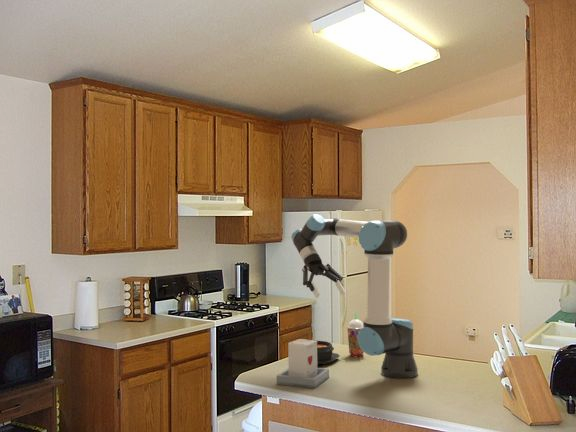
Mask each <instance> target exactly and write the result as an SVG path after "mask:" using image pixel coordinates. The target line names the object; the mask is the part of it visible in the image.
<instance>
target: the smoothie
mask: <svg viewBox="0 0 576 432" xmlns="http://www.w3.org/2000/svg"><path fill="white" fill-rule="evenodd" d="M354 317H355V318H354V319H352V320H351V321H349V323H348V325H347V327H346V328H347V339H348V341H347V342H348V352H349V353H348V354H349V355H350V357H353V358H354V357H355V358H359V357H362V356H364V353H365V352H363V350H362V348H360V346H359V344H358V340H357V335H358V332H359V331H360V329H361V328H363V321H361V320H360V319H358V318H357V317H358V316H357V313H355V314H354Z"/></svg>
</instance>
